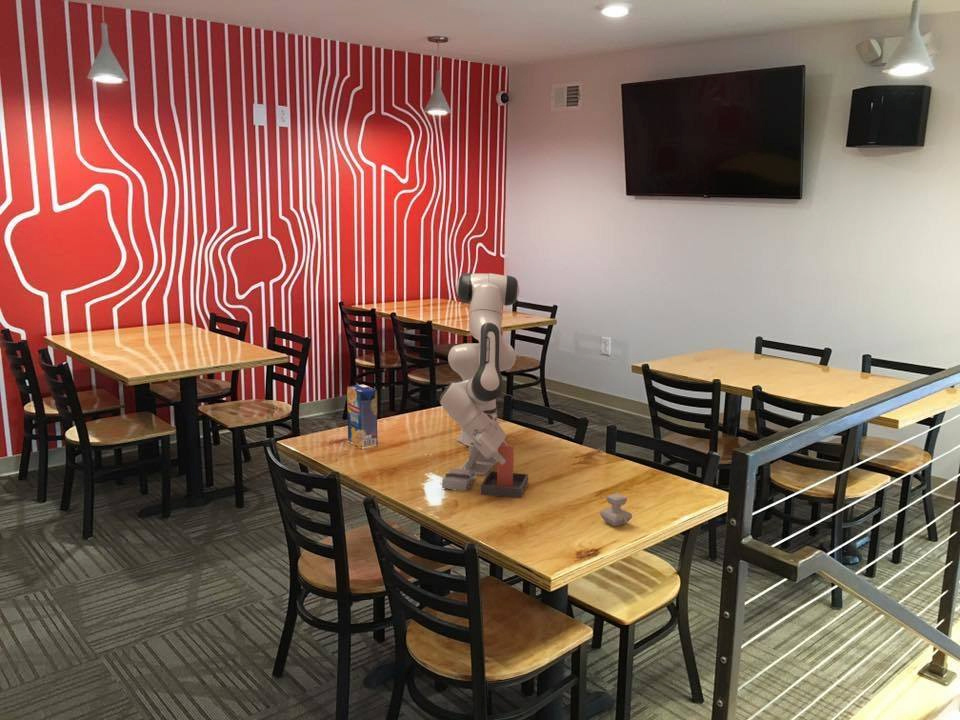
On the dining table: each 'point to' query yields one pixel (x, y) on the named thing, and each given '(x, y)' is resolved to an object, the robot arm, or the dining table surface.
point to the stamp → (616, 511)
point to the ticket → (505, 466)
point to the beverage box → (362, 415)
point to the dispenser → (458, 479)
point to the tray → (492, 489)
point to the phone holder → (478, 459)
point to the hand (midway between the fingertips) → (507, 458)
